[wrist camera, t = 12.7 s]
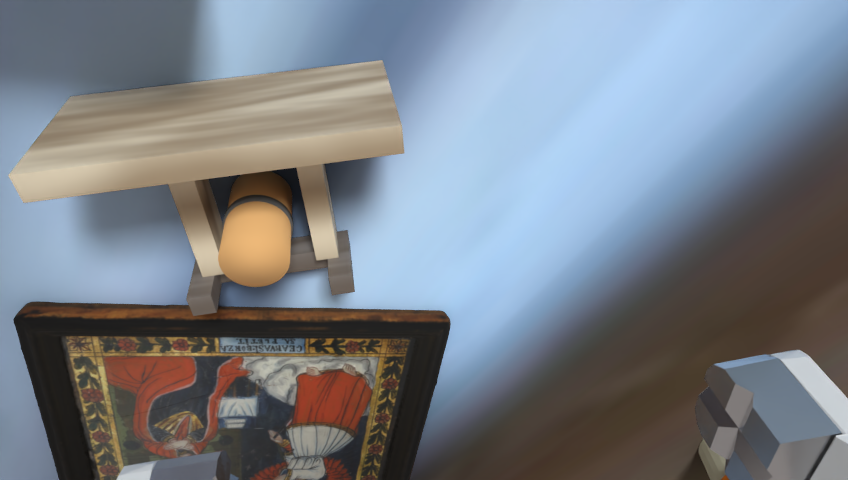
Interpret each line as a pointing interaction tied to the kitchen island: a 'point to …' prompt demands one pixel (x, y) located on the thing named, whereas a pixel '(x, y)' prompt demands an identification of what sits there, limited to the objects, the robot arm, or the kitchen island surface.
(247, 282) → the banded tan cylinder
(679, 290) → the kitchen island surface
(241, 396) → the framed icon painting
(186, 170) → the wooden trestle bench
